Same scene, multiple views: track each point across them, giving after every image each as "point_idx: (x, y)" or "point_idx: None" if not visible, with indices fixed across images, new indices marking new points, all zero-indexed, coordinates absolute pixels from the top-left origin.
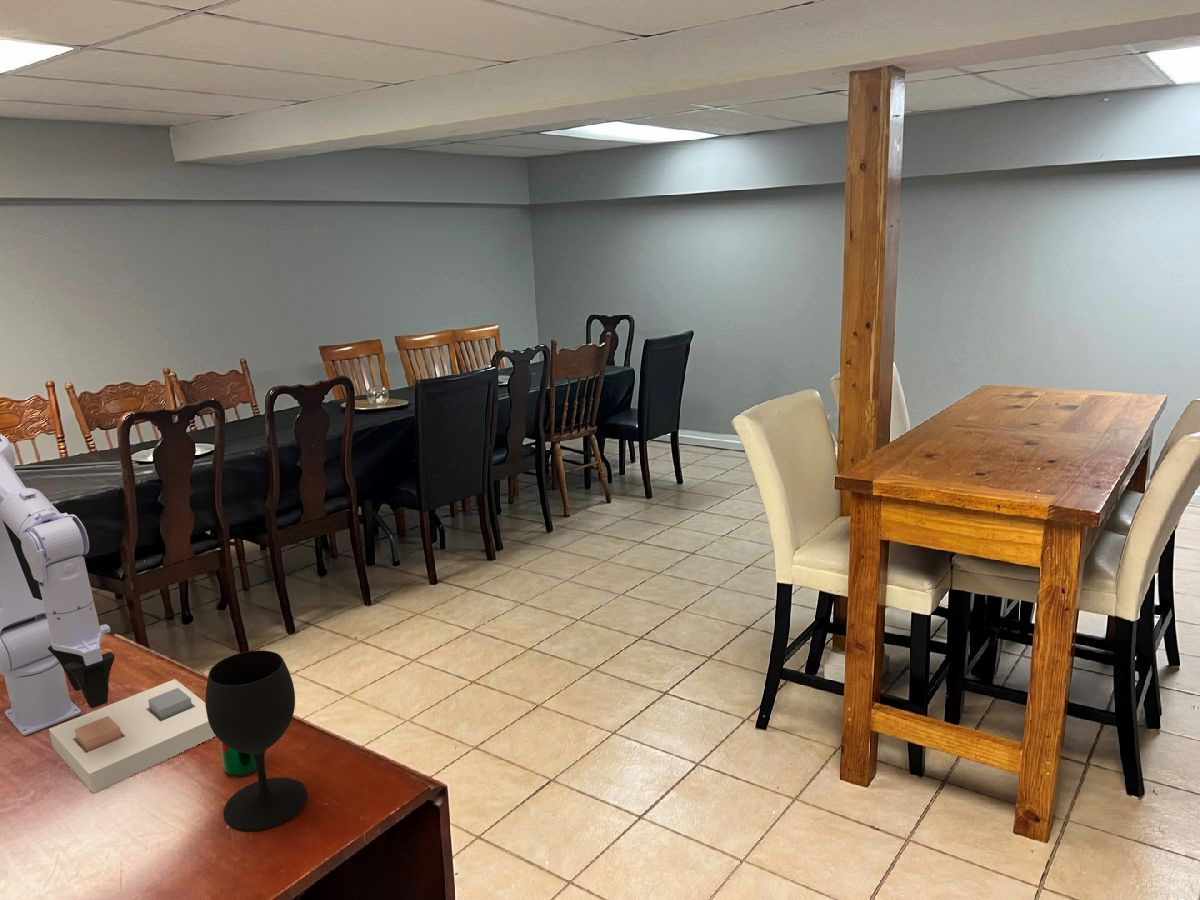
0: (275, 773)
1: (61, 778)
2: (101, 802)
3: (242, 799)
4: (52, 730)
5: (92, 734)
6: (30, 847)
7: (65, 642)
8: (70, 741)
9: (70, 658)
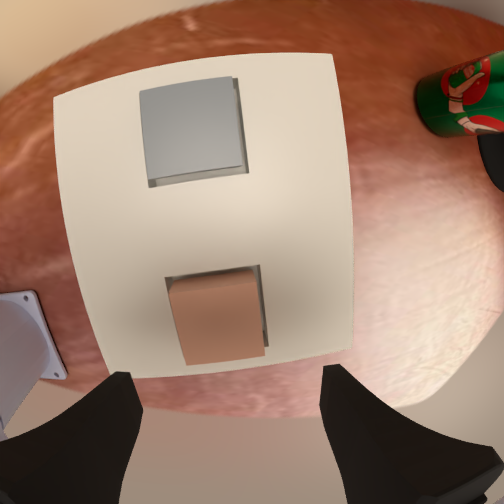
0: None
1: None
2: (370, 318)
3: (500, 159)
4: None
5: (242, 340)
6: (384, 394)
7: None
8: None
9: (102, 502)
